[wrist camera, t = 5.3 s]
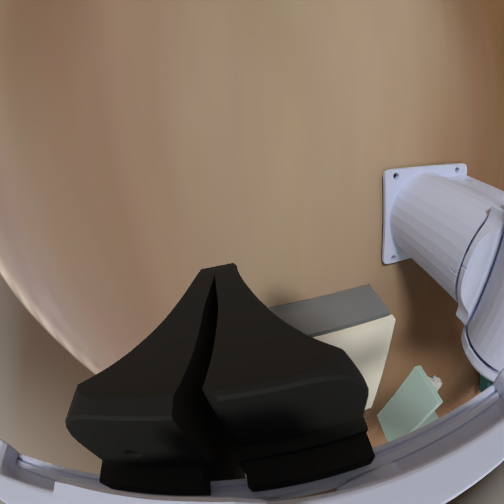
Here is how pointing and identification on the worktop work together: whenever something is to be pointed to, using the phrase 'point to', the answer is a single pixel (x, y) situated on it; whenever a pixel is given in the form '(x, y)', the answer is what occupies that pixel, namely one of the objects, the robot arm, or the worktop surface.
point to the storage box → (333, 311)
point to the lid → (365, 349)
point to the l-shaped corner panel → (411, 405)
